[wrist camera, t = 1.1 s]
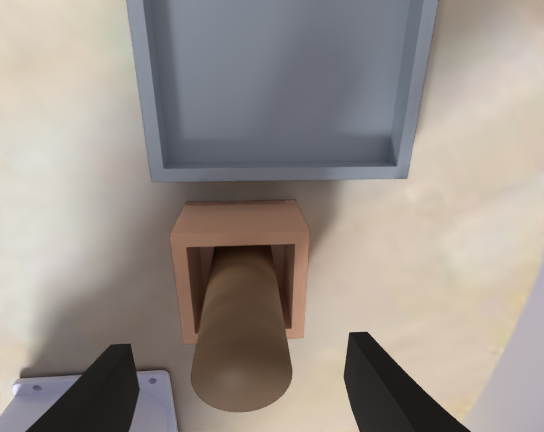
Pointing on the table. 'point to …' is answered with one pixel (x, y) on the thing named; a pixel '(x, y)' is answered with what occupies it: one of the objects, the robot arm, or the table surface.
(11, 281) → the table surface
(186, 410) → the table surface
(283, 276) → the hollow square block
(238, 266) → the dowel
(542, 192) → the table surface
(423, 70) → the tray
